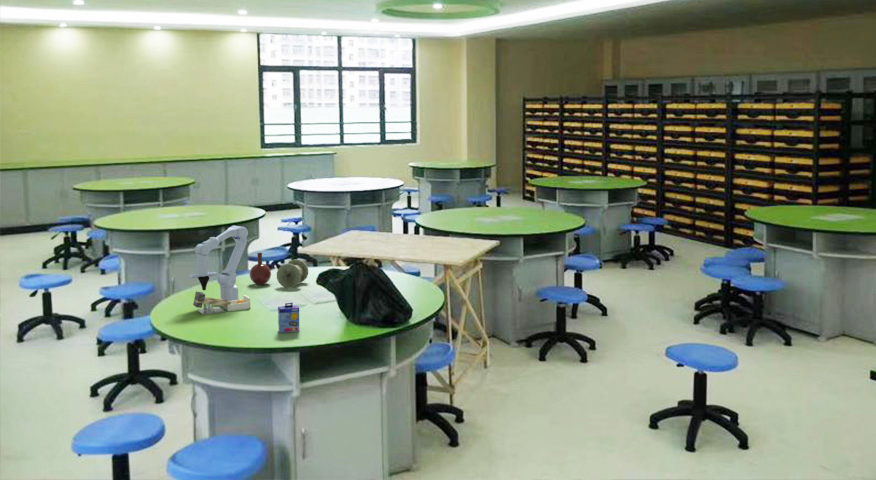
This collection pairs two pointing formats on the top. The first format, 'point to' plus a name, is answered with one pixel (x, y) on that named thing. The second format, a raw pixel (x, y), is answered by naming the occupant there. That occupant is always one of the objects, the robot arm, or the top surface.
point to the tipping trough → (208, 300)
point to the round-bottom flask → (260, 272)
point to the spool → (292, 273)
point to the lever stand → (210, 310)
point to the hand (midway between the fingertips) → (204, 289)
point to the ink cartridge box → (288, 318)
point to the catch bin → (239, 306)
